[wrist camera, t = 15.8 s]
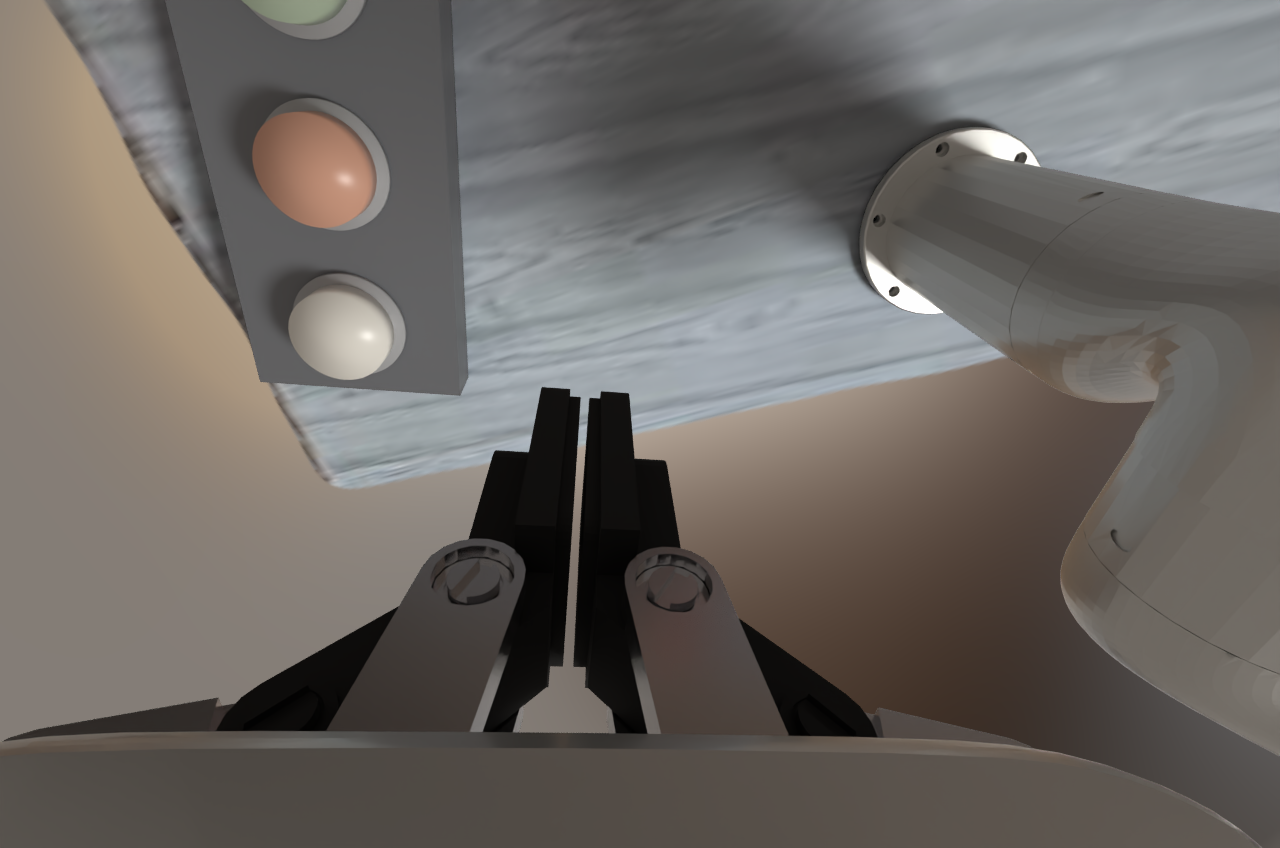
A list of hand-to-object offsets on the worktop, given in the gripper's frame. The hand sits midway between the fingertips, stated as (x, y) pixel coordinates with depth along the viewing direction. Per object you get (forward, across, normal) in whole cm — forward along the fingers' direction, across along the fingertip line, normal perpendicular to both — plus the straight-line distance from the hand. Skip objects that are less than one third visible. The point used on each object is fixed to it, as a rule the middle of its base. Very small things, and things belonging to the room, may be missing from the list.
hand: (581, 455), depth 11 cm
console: (+32, +16, 0) cm, 36 cm away
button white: (+29, +16, +10) cm, 35 cm away
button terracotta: (+29, +16, 0) cm, 33 cm away
